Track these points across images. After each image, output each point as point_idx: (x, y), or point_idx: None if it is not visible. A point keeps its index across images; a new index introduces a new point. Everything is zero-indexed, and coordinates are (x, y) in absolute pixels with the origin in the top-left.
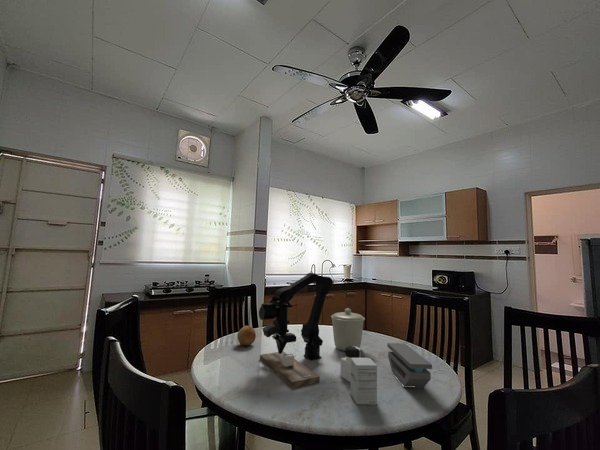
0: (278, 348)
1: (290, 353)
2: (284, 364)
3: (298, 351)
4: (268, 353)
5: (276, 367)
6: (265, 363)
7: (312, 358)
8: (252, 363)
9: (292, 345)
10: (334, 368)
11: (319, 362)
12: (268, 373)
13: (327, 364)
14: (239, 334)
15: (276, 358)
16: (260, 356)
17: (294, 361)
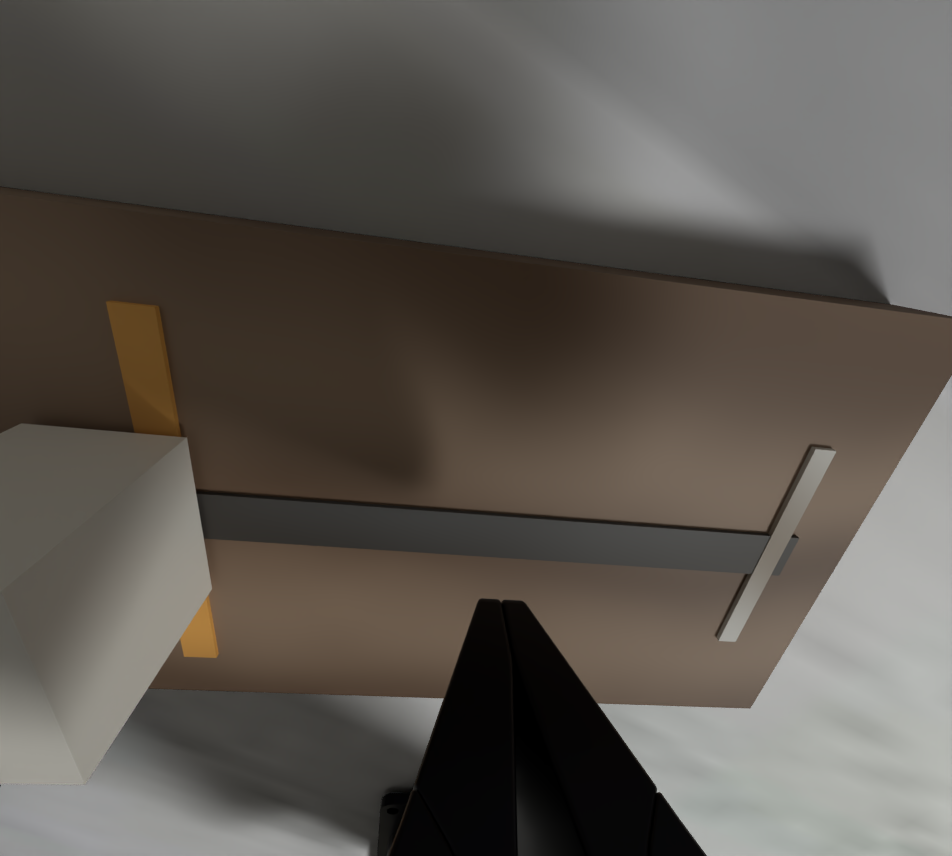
0: (530, 709)
1: (60, 771)
2: (59, 442)
3: (680, 804)
4: (872, 501)
5: (63, 235)
6: (628, 270)
7: (386, 822)
8: (861, 17)
9: (858, 826)
10: (82, 842)
11: (289, 817)
12: (141, 37)
13: (207, 841)
14: None
15: (558, 499)
16: (925, 312)
17: (273, 657)
